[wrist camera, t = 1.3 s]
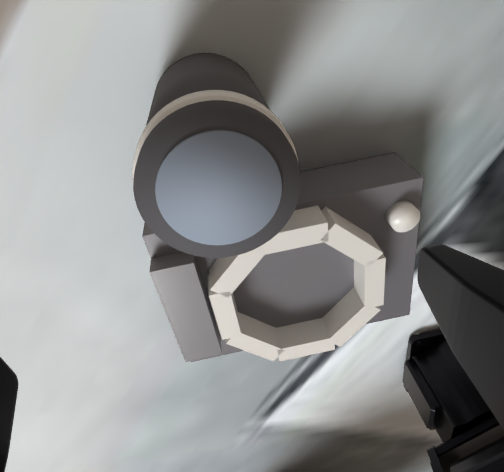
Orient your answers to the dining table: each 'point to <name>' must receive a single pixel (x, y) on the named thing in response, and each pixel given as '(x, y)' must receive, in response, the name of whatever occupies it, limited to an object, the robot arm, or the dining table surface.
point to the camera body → (302, 269)
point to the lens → (214, 161)
